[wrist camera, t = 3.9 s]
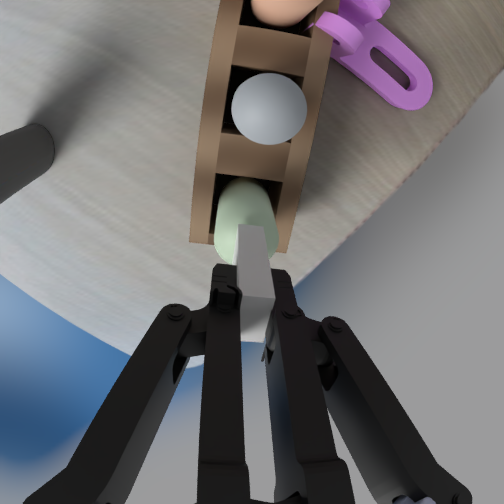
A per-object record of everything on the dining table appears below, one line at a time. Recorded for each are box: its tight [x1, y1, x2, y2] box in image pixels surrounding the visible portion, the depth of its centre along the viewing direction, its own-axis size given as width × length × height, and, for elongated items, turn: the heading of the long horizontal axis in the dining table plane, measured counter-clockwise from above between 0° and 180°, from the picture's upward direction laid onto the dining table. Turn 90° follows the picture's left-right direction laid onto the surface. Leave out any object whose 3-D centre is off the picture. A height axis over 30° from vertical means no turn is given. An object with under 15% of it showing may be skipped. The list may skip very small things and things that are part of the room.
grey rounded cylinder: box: [231, 73, 307, 145], centre depth 17 cm, size 4×4×6 cm
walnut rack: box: [189, 0, 340, 253], centre depth 22 cm, size 23×8×6 cm, turn 171°
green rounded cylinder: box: [214, 177, 279, 265], centre depth 22 cm, size 4×4×6 cm
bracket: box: [303, 0, 433, 110], centre depth 19 cm, size 13×6×7 cm, turn 58°
